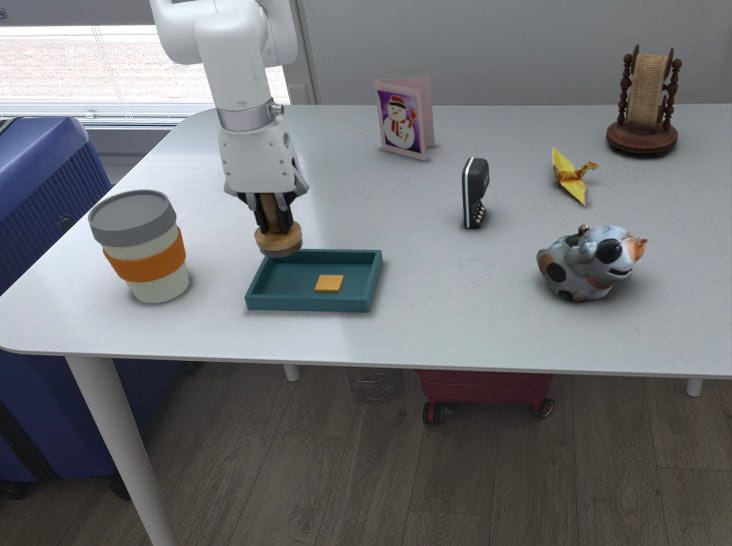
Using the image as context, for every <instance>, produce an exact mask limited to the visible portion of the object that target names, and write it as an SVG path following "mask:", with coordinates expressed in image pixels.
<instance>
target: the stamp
mask: <svg viewBox="0 0 732 546" xmlns="http://www.w3.org/2000/svg"><path fill="white" fill-rule="evenodd" d="M259 197H260V201H261V205H262V208H263V212H264V216H265V219H266V223H267V227H268V229H269V230H268V232H267V233H266V234H262V233H261V230H260V226H257V228H256V229H255V231H254V233H253V237H254V240H255V243H256V245H257V247H258V249H259V252H260V254H262V255H263V256H264V257H265V256H267V257H272V258H280V257H286V256H289V255H292V254H294V253H296V252H297V251H298V250H299V249H302V247H303V245H304V239H303V231H302V226H301V224H300V223H299V222H297V221H296V220H294V223H293V225H292V226H291V227H290V229H289V231H288V233H287V234H283V233H282V231H281V227H280V223H279V219H278V216H277V211H278V209H279V207H278V203H277V200H276V197H275V194H274V193H259Z"/></svg>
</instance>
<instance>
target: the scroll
mask: <svg viewBox="0 0 732 546" xmlns="http://www.w3.org/2000/svg"><path fill="white" fill-rule="evenodd" d="M634 46H635V47H634V49H633V52H632V54H631V53H626V54H625V55H623V58H622V61H623V63H624V64H623V67H624V69H623V71H622V78H620V83H619V87H620V90H621V93H620V95H619V99H620V100H619V101H618V102H617V107H618V110H617V111H618V115H617V117H616V121H614V122H612V123H611V124H609V125H608V126H607V129H606V133H605V138H606V141H607V142H608V143H609V144H610V145H611V150H612V151H613V152H614V151H616V149H618V150H621V151H624V152H628V153H633V154H644V155H645V154H656V157H657V158H660V157H661V156H662V154H663V152H665V151H668V150H670V149H672V148H673V147H675V145H676V144H677V143H678V138H679V132H678V130H677V128H676V127H674V125H672V123H671V119H672V118H673V116H672V115H673V114H674V112H675V107H674V104H675V96H676V95H677V93H678V89H679V84H678V81H679V73H680V72H681V70H680V69H681V68H682V67H683V61H682V59H680V58H675V59H673V58H674V52H675V51H674V49H675V48H674V47H670V49H669V53H668V55H659V54H649V53H641V52H640V44H639V43H637V44H635V45H634ZM671 72H672V74H671V76H670V73H671ZM631 75H632V79H631V78H630V77H631ZM669 76H670V79H669V80H670V83H667V84H666V83H665V82H666V80H667V79H668V78H669ZM629 88H630V91H629V95H628V90H629ZM664 91H666V92H667V94H664V95H663V97H662V92H664ZM667 95H668V97H667ZM661 97H662V101H661ZM660 103H661V104H660ZM663 119H664V120H663Z"/></svg>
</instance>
